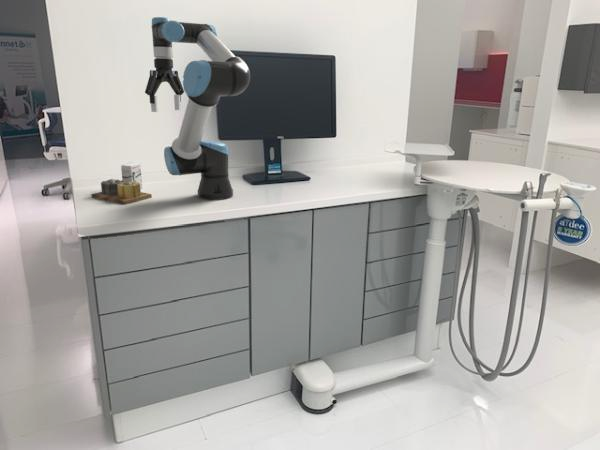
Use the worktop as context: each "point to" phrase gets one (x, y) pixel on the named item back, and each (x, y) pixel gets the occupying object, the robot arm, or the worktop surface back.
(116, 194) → the gear board
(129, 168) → the ink box
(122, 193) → the brass gear
